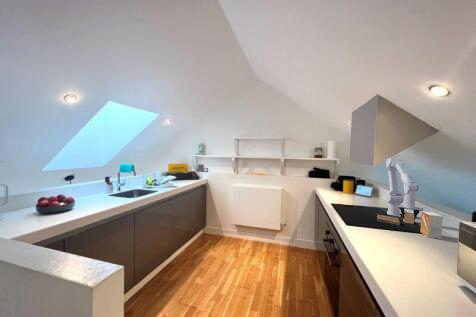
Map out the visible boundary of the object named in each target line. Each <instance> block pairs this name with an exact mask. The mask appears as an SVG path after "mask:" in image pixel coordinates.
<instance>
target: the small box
mask: <svg viewBox="0 0 476 317" xmlns="http://www.w3.org/2000/svg"><path fill="white" fill-rule="evenodd" d="M443 220H444V216H443V215H440V214H439V213H437V212H434V211H425V210H423V211H421V219H420V233H421V234H422V235H424V236H426V237H427V238H431V239H439V240H441V239H442V236H443V234H442V233H443Z"/></svg>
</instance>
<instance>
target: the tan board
mask: <svg viewBox="0 0 476 317" xmlns="http://www.w3.org/2000/svg"><path fill="white" fill-rule="evenodd" d="M376 215H377V216H376V219H377V222H379V223H384V224H389V225H394V224H395V226H401V222H400V219H399V217H397V216H391V215H383V214H376Z"/></svg>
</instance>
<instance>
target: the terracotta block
mask: <svg viewBox="0 0 476 317" xmlns="http://www.w3.org/2000/svg"><path fill="white" fill-rule="evenodd" d="M402 220H403V223H406V224H413V225H414V224H415V221H414V214H413V213H412V212H408V211H407V212H406V211H405V213H404V219H403V218H402Z"/></svg>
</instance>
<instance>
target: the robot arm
mask: <svg viewBox="0 0 476 317" xmlns="http://www.w3.org/2000/svg"><path fill="white" fill-rule="evenodd" d="M388 158H389V159H388ZM388 158H387V159H386V160H385V166H386V169H387V173H388V184H389V191H387V192H385V193H386V195H385V201H386V202H387V204H388V205H387V211H386V214H387V216H392V217H398V218H401V217H402V220H403V219H404V213H405V212H406V210H411V211H413V214H414V222H415V221H416V218H417V216H418V215H419V214H420V212H422V211H425V210H424V208H423V207H418V206H416V198H417V196H416V194H417V192H418V191H419V185H418V183H416V182H415V181H414V180H413V179H412V176H411V174H408V173H407V170H406V168H405V166H404V165H405V160H404V158H403V157H400V158H399V157H388ZM397 171H398V173H399V175H400V180H401V182H402V184H403V186H402V189H403V193H404V196H403V193H402V192H401V191H399V186H398V185H399V184H398V175H397ZM402 203H403V204H402ZM400 212H401V213H400Z"/></svg>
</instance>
